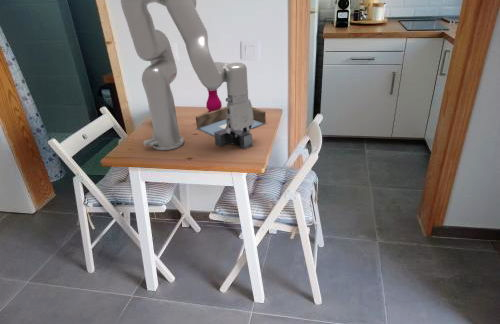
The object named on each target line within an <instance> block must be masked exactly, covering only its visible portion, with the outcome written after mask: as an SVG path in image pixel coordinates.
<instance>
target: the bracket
mask: <svg viewBox="0 0 500 324" xmlns="http://www.w3.org/2000/svg"><path fill="white" fill-rule="evenodd" d="M230 131H231V128H230ZM234 133H235V131H234ZM214 136H215V137H214ZM214 136H213V137H214V144H215V145H216V146H217V147H220V148H223V147H225V146H228V145H231V144H232V145H234V144H233V138H232V135H230V134H229V133H226V132H225V129H222V130H219V131H217V132H214ZM238 137H239V146H238V147H239V148H241V149H243V150H247V149H249V148H252V147H253V133H251V132H249V133H248V132H246V131H243V130H241V129H240V130H238Z"/></svg>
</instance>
